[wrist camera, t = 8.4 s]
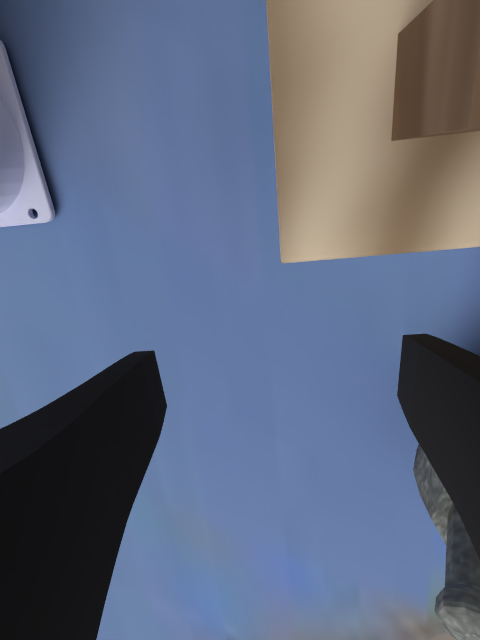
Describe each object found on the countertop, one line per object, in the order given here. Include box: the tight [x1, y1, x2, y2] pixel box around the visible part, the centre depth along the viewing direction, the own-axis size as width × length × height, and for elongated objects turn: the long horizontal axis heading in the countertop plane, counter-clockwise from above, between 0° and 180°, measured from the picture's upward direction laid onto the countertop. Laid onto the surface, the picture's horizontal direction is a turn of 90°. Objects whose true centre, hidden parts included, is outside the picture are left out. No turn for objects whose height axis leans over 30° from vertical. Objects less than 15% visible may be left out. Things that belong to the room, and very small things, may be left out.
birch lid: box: [266, 0, 480, 263], centre depth 9 cm, size 11×11×6 cm
